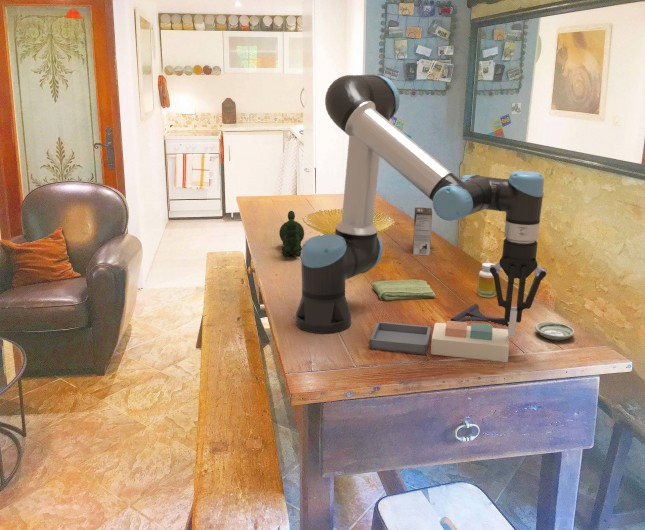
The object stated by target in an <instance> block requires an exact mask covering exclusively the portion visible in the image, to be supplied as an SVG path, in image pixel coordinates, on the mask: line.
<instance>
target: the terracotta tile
mask: <svg viewBox="0 0 645 530" xmlns="http://www.w3.org/2000/svg"><path fill="white" fill-rule="evenodd" d="M445 324H446V329H445V336H453V337H464V338H466V332H467V326H468V321H464V322H458V321H454V320H453V321H450V320H446V323H445Z"/></svg>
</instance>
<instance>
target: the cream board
mask: <svg viewBox="0 0 645 530" xmlns="http://www.w3.org/2000/svg"><path fill="white" fill-rule="evenodd" d="M445 329H446V323H444V322H443V323H442V322H435V323H434V327H433V331H432V334H431V335H432V336H431V345H430V346H431V347H430V355H435V356H445V357H454V358H463V359H466V358H467V359H474V360H483V361H493V362H502V363H509V354H510V338H509V337H510V336H508V328H507V329H505V328H496V327H495V328H494V327H492V340H484V339H474V338H470V335H471V325H467V332H466V338H464V337H453V336H445Z"/></svg>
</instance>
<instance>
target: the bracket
mask: <svg viewBox="0 0 645 530" xmlns="http://www.w3.org/2000/svg"><path fill="white" fill-rule="evenodd" d="M469 316H470V317H469ZM471 320H472V321H471ZM474 320H478V322H479V321H480V322H488V321H491V322H490V323H492V322H494V323H493V324H496V323H498V324H497V325H500V324H502V325H501V326H504V325H506V326H505V327H508V326H507V325H508V324H509V322H507V321H505V318H504V317H493V316H492V317H490V316H486V315H484V314H483V313H481V311H480V307H479V304H477V303H474V304H472V305H471V306H469V307H468V308H466V309H464V310H463V311H461V312H460V313H458V314H457V315H455V316H454V317H452V318H451V319H450V320H449V321H458V322H470V321H471V322H473V321H474Z"/></svg>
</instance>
